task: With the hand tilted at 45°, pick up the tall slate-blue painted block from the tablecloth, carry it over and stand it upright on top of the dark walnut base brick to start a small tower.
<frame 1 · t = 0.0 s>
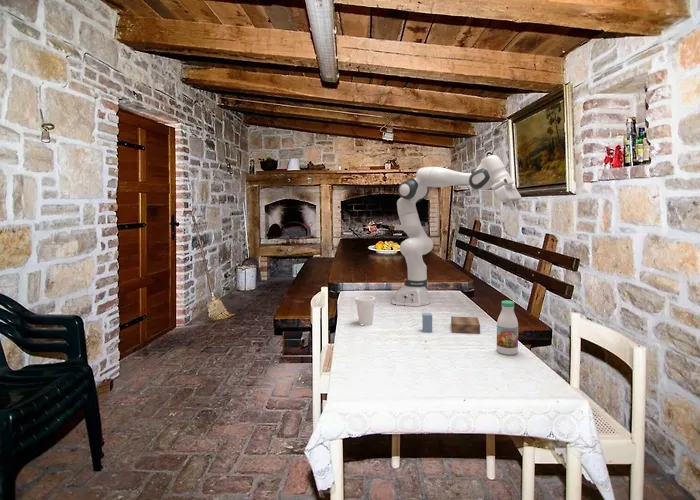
hand: (516, 209, 185), 54 cm above the table, tool tilted 30°, fingers open, 8 cm apart
base brick: (465, 329, 178), on the table
tower block: (427, 330, 177), on the table
foam cup: (366, 324, 190), on the table
milk bottle: (507, 352, 150), on the table
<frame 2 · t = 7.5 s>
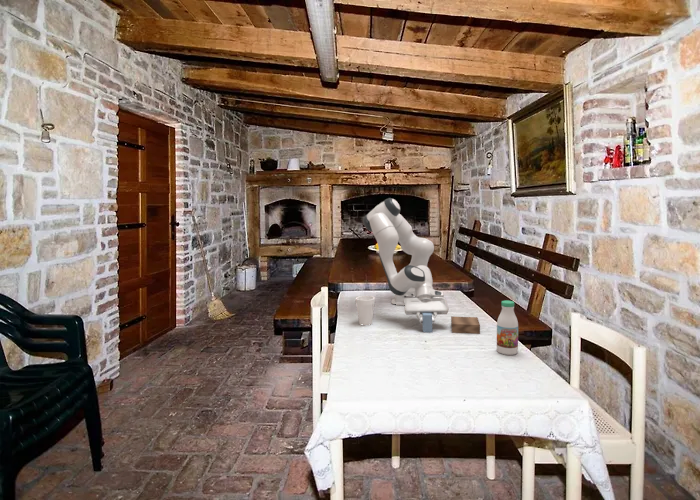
hand: (427, 322, 176), 4 cm above the table, tool tilted 45°, fingers closed on tower block, 4 cm apart
tower block: (427, 330, 177), on the table, touching gripper
everything else where it was.
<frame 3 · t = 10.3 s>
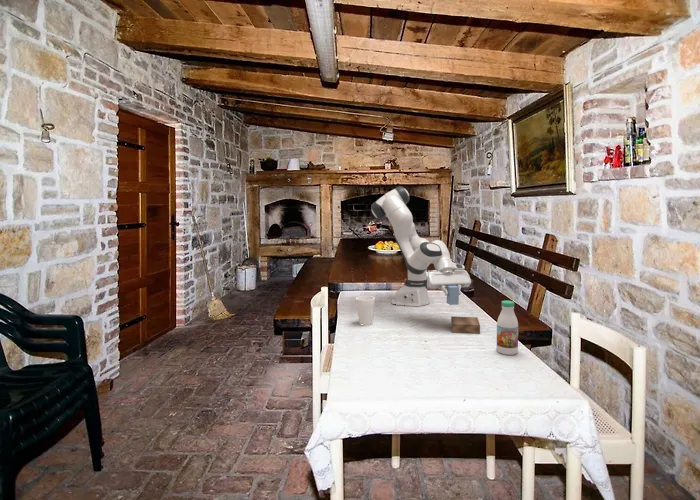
hand: (453, 294, 174), 17 cm above the table, tool tilted 45°, fingers closed on tower block, 4 cm apart
tower block: (452, 303, 175), point 12 cm above the table, touching gripper
everything else where it was.
when the fingers open (10 cm above the table, at t = 13.3 s): tower block drops 1 cm, resting on base brick.
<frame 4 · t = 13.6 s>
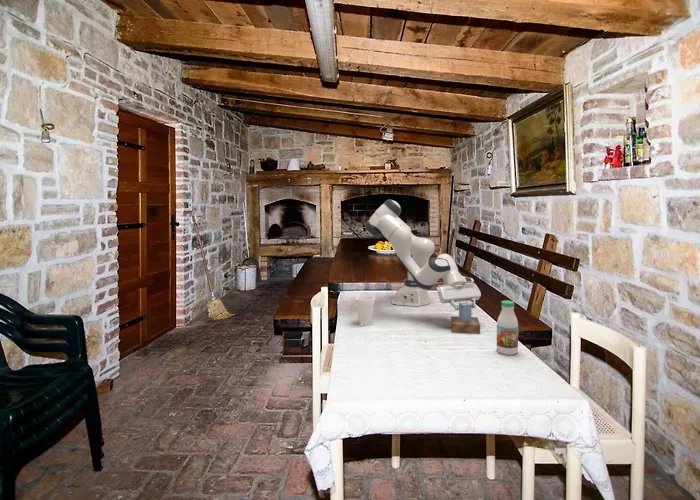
hand: (465, 308, 176), 10 cm above the table, tool tilted 45°, fingers open, 7 cm apart
tower block: (465, 320, 178), point 4 cm above the table, touching base brick
everything else where it was.
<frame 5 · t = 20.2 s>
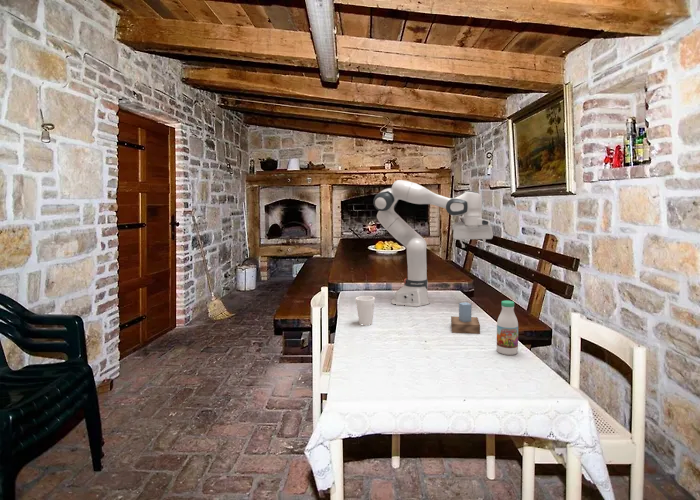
hand: (472, 247, 206), 34 cm above the table, tool pointing down, fingers open, 8 cm apart
nothing on the table moved.
at the end: tower block inside the target area on the base brick (0.0 cm from its centre), point 4.0 cm above the base brick's base; tower block tilted 0°; the gripper is holding nothing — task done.
